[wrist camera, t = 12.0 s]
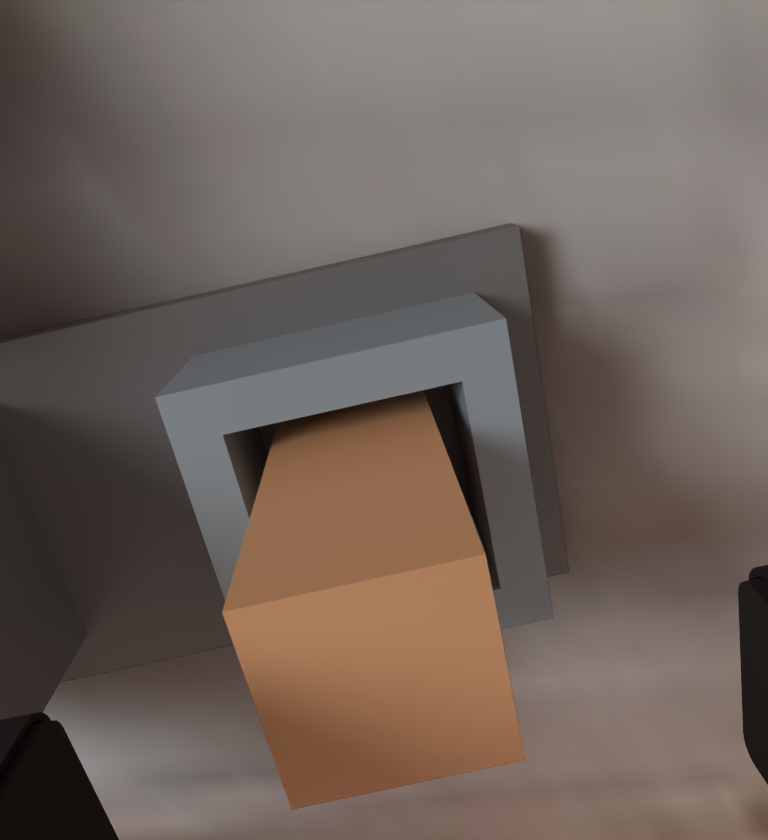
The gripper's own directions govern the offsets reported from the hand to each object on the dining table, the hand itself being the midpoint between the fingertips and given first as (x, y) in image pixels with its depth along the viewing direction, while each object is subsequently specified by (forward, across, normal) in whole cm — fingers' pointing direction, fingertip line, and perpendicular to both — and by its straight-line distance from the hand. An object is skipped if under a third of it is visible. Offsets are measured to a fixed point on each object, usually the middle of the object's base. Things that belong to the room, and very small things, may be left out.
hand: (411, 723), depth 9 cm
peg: (+11, +1, +1) cm, 11 cm away
